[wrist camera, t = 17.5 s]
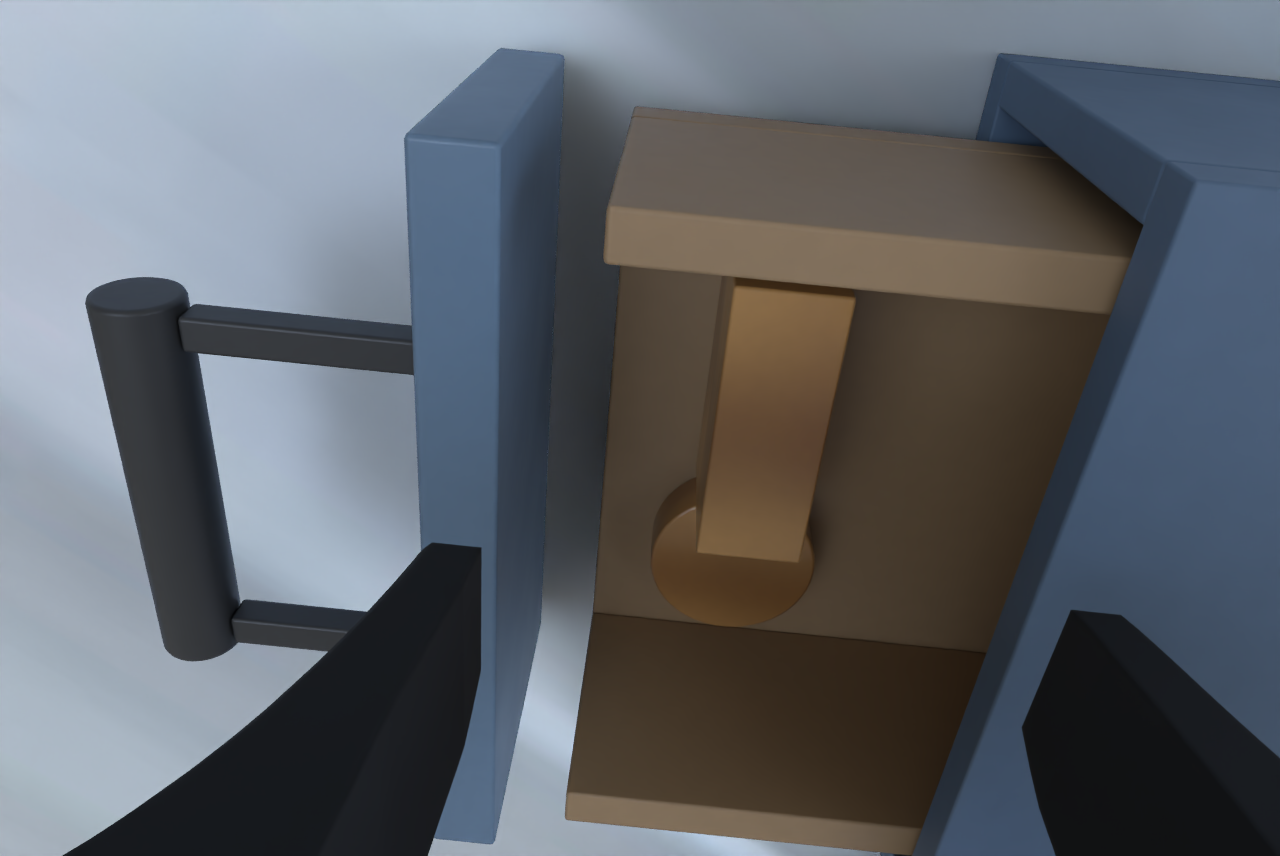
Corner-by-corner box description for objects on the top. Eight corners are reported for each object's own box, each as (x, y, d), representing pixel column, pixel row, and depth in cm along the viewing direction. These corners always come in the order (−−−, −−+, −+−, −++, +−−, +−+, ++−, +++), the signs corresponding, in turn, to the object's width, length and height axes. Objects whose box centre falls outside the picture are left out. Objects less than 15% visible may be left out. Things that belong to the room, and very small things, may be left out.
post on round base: (687, 218, 17) (684, 281, 15) (875, 237, 17) (906, 302, 15) (645, 587, 22) (637, 684, 19) (796, 602, 22) (808, 702, 19)
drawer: (282, 595, 24) (158, 812, 18) (200, 17, 17) (-35, 89, 12) (994, 669, 24) (1080, 906, 18) (1202, 117, 17) (1439, 237, 11)
